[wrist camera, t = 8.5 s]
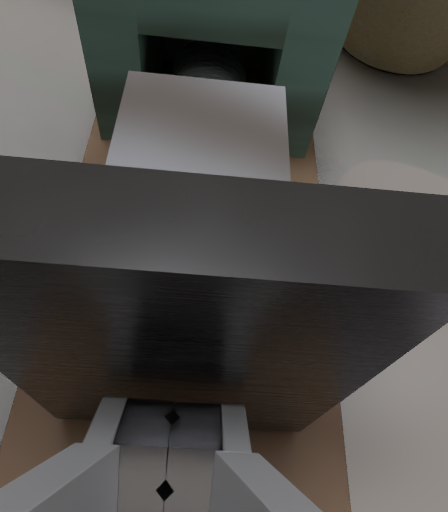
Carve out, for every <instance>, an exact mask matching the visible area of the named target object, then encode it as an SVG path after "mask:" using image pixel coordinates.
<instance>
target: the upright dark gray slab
mask: <svg viewBox="0 0 448 512" xmlns="http://www.w3.org/2000/svg"><path fill="white" fill-rule="evenodd" d="M172 75H177V76H187V77H196V78H206V79H216V80H226V81H236V82H246V67H245V63H244V61H243V58H242V57H241V55H240V54H239V52H238V51H237V50H236V49H235V48H234V47H233V46H231V45H230V44H227V43H217V42H208V41H198V40H194V41H192V42H190V43H188V44H187V45H185V46H184V47H183V48H182V49H181V50H180V51H179V53H178V54H177V56H176V59H175V62H174V67H173V73H172ZM446 323H448V195H447V196H446V195H436V194H425V193H414V192H403V191H392V190H379V189H368V188H358V187H347V186H336V185H325V184H313V183H302V182H291V181H280V180H269V179H257V178H246V177H235V176H224V175H213V174H202V173H190V172H179V171H168V170H157V169H146V168H134V167H123V166H112V165H101V164H90V163H79V162H67V161H56V160H45V159H34V158H23V157H11V156H0V372H1V373H2V374H4V375H5V376H6V377H7V378H8V379H10V380H11V381H12V382H13V383H14V384H16V385H17V386H18V387H19V388H20V389H22V390H23V391H24V392H25V393H26V394H28V395H29V396H30V397H31V398H32V399H34V400H35V401H36V402H37V403H38V404H40V405H41V406H42V407H43V408H44V409H46V410H47V411H48V412H49V413H50V414H52V415H53V416H54V417H55V418H56V419H74V420H91V421H92V420H93V418H94V415H95V413H96V411H97V409H98V406H99V404H100V402H101V399H102V398H103V397H105V396H115V397H127V398H141V399H152V400H164V401H174V404H175V402H187V403H214V404H243V405H244V406H245V410H246V417H247V423H248V429H249V430H267V431H284V432H300V431H302V430H303V429H304V428H306V427H307V426H308V425H310V424H311V423H312V422H314V421H315V420H317V419H318V418H319V417H321V416H322V415H323V414H325V413H326V412H327V411H329V410H330V409H331V408H333V407H334V406H335V405H337V404H338V403H340V402H341V401H342V400H344V399H345V398H346V397H348V396H349V395H350V394H351V393H353V392H354V391H356V390H357V389H358V388H360V387H361V386H363V385H364V384H365V383H366V382H368V381H369V380H371V379H372V378H373V377H374V376H376V375H377V374H379V373H380V372H381V371H383V370H384V369H386V368H387V367H388V366H390V365H391V364H392V363H394V362H395V361H396V360H397V359H399V358H400V357H402V356H403V355H404V354H406V353H407V352H409V351H410V350H411V349H412V348H414V347H415V346H417V345H418V344H419V343H421V342H422V341H423V340H425V339H426V338H427V337H429V336H430V335H432V334H433V333H434V332H436V331H437V330H438V329H440V328H441V327H442V326H444V325H445V324H446Z"/></svg>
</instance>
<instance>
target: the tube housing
mask: <svg viewBox="0 0 448 512" xmlns="http://www.w3.org/2000/svg"><path fill="white" fill-rule="evenodd" d="M358 1H359V0H73V5H74V10H75V15H76V20H77V25H78V30H79V34H80V39H81V44H82V49H83V54H84V59H85V64H86V69H87V73H88V78H89V83H90V88H91V93H92V98H93V103H94V107H95V112H96V117H95V121H94V124H93V128H92V131H91V135H90V138H89V141H88V145H87V148H86V152H85V155H84V159H83V162H82V163H90V164H101V165H112V166H123V167H134V168H146V169H157V170H168V171H179V172H190V173H202V174H213V175H224V176H235V177H246V178H257V179H269V180H280V181H291V182H302V183H313V184H318V180H317V170H316V160H315V150H314V141H313V132H314V129H315V126H316V123H317V120H318V117H319V114H320V111H321V109H322V106H323V103H324V100H325V97H326V94H327V91H328V88H329V85H330V82H331V80H332V77H333V74H334V71H335V68H336V65H337V62H338V59H339V56H340V53H341V51H342V48H343V45H344V42H345V39H346V36H347V33H348V30H349V27H350V24H351V22H352V19H353V16H354V13H355V10H356V7H357V4H358ZM194 40H198V41H208V42H217V43H227V44H230V45H231V46H233V47H234V48H235V49H236V50H237V51H238V52H239V54H240V55H241V57H242V58H243V61H244V63H245V67H246V82H236V81H226V80H216V79H206V78H196V77H187V76H177V75H172V73H173V67H174V62H175V59H176V56H177V54H178V53H179V51H180V50H181V49H182V48H183V47H184V46H185V45H187V44H188V43H190V42H192V41H194ZM91 422H92V421H91V420H74V419H56V418H55V417H54V416H53V415H52V414H50V413H49V412H48V411H47V410H46V409H44V408H43V407H42V406H41V405H40V404H38V403H37V402H36V401H35V400H34V399H32V398H31V397H30V396H29V395H28V394H26V393H25V392H24V391H23V390H22V389H20V388H19V387H18V388H17V391H16V394H15V398H14V401H13V405H12V408H11V412H10V415H9V419H8V422H7V426H6V429H5V433H4V436H3V440H2V443H1V446H0V488H2V487H3V486H5V485H6V484H8V483H10V482H11V481H13V480H15V479H16V478H18V477H20V476H21V475H23V474H25V473H26V472H28V471H29V470H31V469H33V468H34V467H36V466H38V465H39V464H41V463H43V462H44V461H46V460H48V459H49V458H51V457H52V456H54V455H56V454H57V453H59V452H61V451H62V450H64V449H66V448H67V447H69V446H71V445H72V444H74V443H83V440H84V438H85V436H86V433H87V431H88V429H89V427H90V424H91ZM248 430H249V429H248ZM249 437H250V443H251V450H252V453H259V454H260V455H261V456H262V457H263V458H264V459H266V460H267V461H268V462H269V463H270V464H271V465H272V466H273V467H274V468H275V469H277V470H278V471H279V472H280V473H281V474H282V475H283V476H284V477H285V478H286V479H288V480H289V481H290V482H291V483H292V484H293V485H294V486H295V487H296V488H297V489H299V490H300V491H301V492H302V493H303V494H304V495H305V496H306V497H307V498H308V499H310V500H311V501H312V502H313V503H314V504H315V505H316V506H317V507H318V508H319V509H320V510H322V511H323V512H351V505H350V495H349V485H348V475H347V466H346V456H345V446H344V436H343V426H342V416H341V406H340V403H338V404H337V405H335V406H334V407H333V408H331V409H330V410H329V411H327V412H326V413H325V414H323V415H322V416H321V417H319V418H318V419H317V420H315V421H314V422H312V423H311V424H310V425H308V426H307V427H306V428H304V429H303V430H302V431H300V432H284V431H267V430H249Z"/></svg>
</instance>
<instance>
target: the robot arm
mask: <svg viewBox="0 0 448 512" xmlns="http://www.w3.org/2000/svg"><path fill="white" fill-rule="evenodd" d="M0 512H323V511H322V510H320V509H319V508H318V507H317V506H316V505H315V504H314V503H313V502H312V501H311V500H310V499H308V498H307V497H306V496H305V495H304V494H303V493H302V492H301V491H300V490H299V489H297V488H296V487H295V486H294V485H293V484H292V483H291V482H290V481H289V480H288V479H286V478H285V477H284V476H283V475H282V474H281V473H280V472H279V471H278V470H277V469H275V468H274V467H273V466H272V465H271V464H270V463H269V462H268V461H267V460H266V459H264V458H263V457H262V456H261V455H260V454H259V453H252V450H251V443H250V437H249V430H248V423H247V417H246V410H245V406H244V405H243V404H214V403H187V402H175V404H174V401H164V400H152V399H141V398H127V397H115V396H105V397H103V398H102V399H101V402H100V404H99V406H98V409H97V411H96V413H95V415H94V418H93V420H92V422H91V424H90V427H89V429H88V431H87V433H86V436H85V438H84V440H83V443H74V444H72V445H71V446H69V447H67V448H66V449H64V450H62V451H61V452H59V453H57V454H56V455H54V456H52V457H51V458H49V459H48V460H46V461H44V462H43V463H41V464H39V465H38V466H36V467H34V468H33V469H31V470H29V471H28V472H26V473H25V474H23V475H21V476H20V477H18V478H16V479H15V480H13V481H11V482H10V483H8V484H6V485H5V486H3V487H2V488H0Z"/></svg>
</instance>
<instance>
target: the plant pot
mask: <svg viewBox="0 0 448 512" xmlns="http://www.w3.org/2000/svg"><path fill="white" fill-rule="evenodd" d="M343 47H344V48H345V49H346V50H347V51H348V52H349V53H350V54H351V55H352V56H354V57H355V58H357V59H358V60H360V61H362V62H364V63H365V64H367V65H370V66H372V67H375V68H378V69H381V70H385V71H388V72H393V73H400V74H420V73H426V72H430V71H433V70H436V69H438V68H440V67H441V66H442V65H444V64H445V63H446V62H447V61H448V0H359V1H358V4H357V7H356V10H355V13H354V16H353V19H352V22H351V24H350V27H349V30H348V33H347V36H346V39H345V42H344V45H343Z"/></svg>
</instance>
